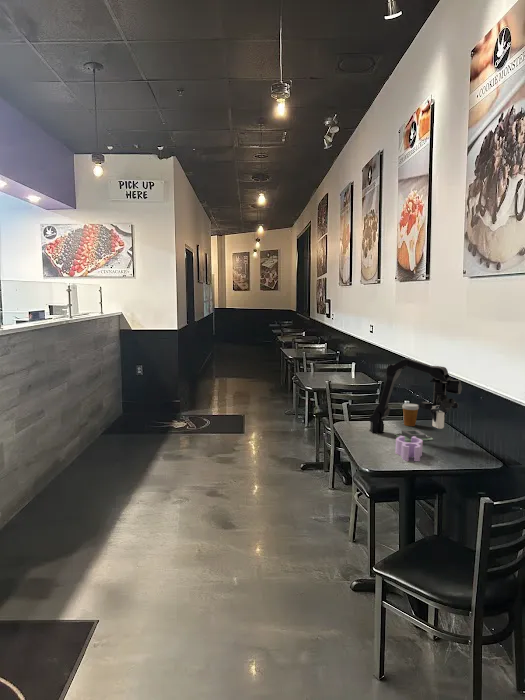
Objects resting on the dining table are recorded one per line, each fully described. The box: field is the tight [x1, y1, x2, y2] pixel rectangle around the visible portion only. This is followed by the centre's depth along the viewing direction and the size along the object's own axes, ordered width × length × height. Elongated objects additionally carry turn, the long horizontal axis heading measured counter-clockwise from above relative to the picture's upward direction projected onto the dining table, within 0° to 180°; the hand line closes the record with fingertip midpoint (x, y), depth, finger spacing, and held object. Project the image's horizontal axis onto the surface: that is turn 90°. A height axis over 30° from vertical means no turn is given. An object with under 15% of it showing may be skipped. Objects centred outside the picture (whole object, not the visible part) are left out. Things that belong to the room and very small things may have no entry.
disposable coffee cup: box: [401, 402, 420, 427], centre depth 316 cm, size 10×10×12 cm
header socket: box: [401, 429, 427, 439], centre depth 289 cm, size 9×10×2 cm
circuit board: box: [394, 432, 434, 442], centre depth 289 cm, size 16×12×1 cm
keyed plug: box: [432, 407, 445, 430], centre depth 277 cm, size 4×6×10 cm, turn 12°
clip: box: [394, 436, 424, 462], centre depth 258 cm, size 20×12×7 cm, turn 171°
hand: (438, 421), depth 278 cm, fingers closed on keyed plug, 4 cm apart
